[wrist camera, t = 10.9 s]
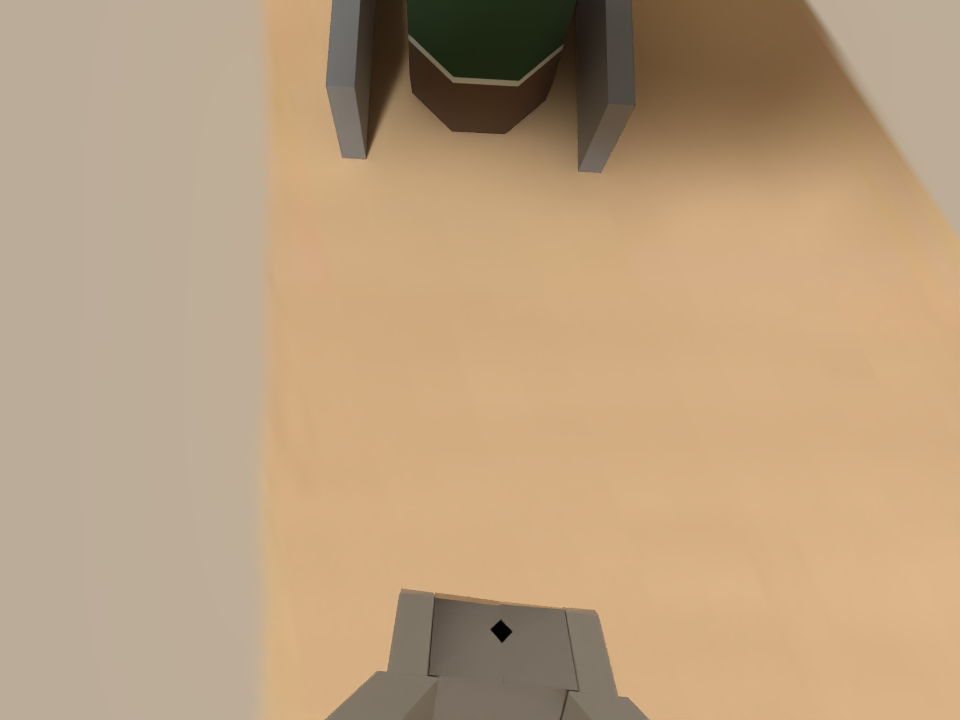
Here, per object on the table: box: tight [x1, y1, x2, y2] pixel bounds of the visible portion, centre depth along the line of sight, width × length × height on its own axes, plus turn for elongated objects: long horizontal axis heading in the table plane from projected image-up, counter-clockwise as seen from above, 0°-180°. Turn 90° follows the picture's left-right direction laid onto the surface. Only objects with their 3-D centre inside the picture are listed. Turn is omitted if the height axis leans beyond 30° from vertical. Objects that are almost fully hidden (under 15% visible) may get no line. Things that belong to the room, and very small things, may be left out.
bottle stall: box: [326, 0, 635, 173], centre depth 34 cm, size 13×12×6 cm
